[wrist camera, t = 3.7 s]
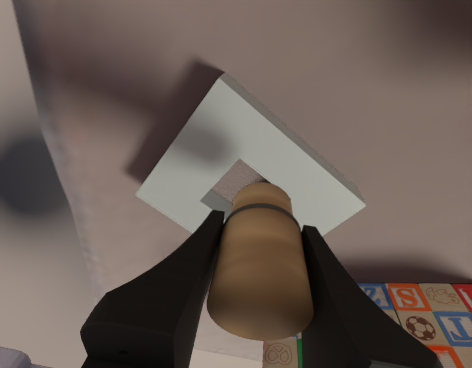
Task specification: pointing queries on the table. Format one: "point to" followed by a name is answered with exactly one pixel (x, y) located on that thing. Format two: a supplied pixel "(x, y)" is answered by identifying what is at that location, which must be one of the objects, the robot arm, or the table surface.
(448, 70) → the table surface
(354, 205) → the board
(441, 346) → the stack of blocks
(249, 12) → the table surface
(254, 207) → the peg
